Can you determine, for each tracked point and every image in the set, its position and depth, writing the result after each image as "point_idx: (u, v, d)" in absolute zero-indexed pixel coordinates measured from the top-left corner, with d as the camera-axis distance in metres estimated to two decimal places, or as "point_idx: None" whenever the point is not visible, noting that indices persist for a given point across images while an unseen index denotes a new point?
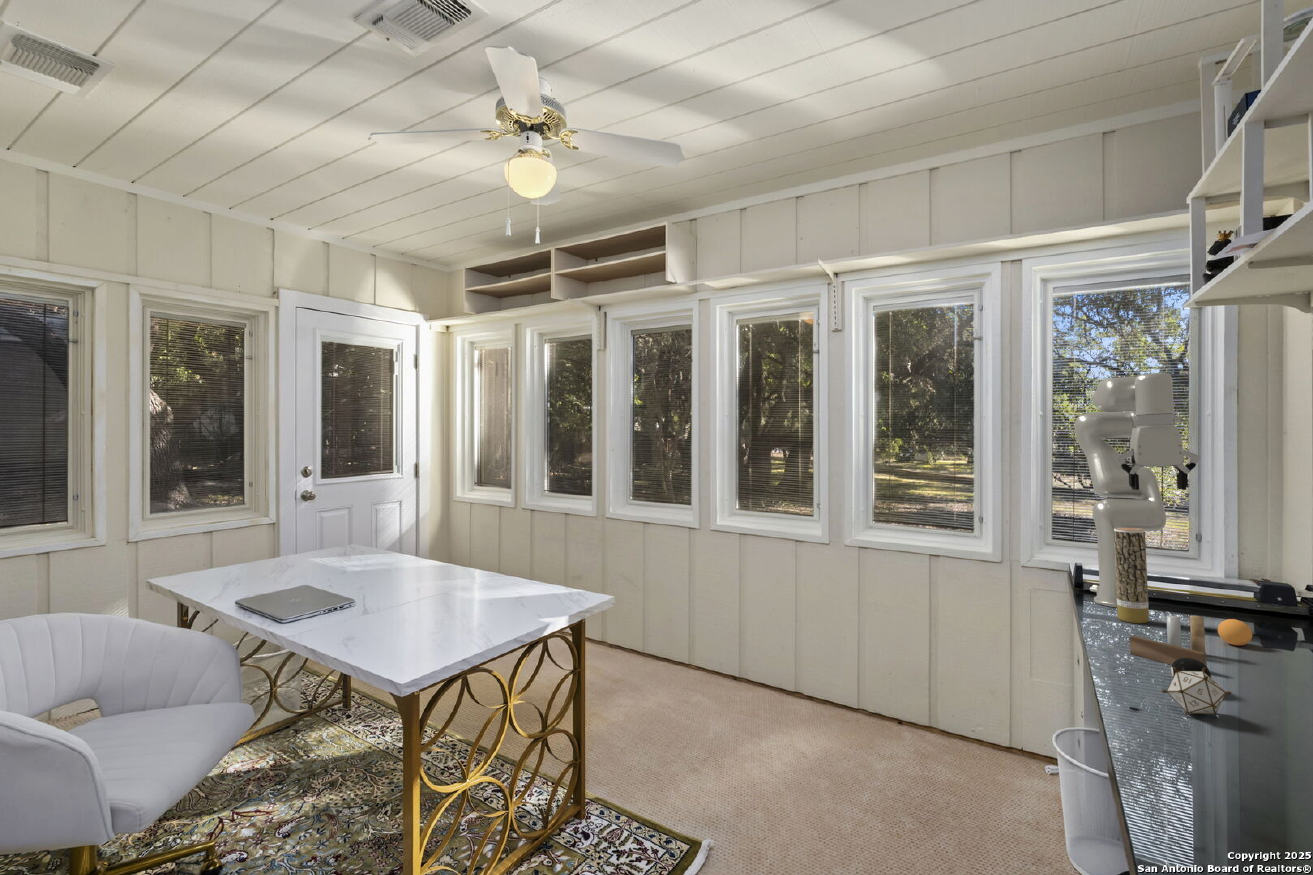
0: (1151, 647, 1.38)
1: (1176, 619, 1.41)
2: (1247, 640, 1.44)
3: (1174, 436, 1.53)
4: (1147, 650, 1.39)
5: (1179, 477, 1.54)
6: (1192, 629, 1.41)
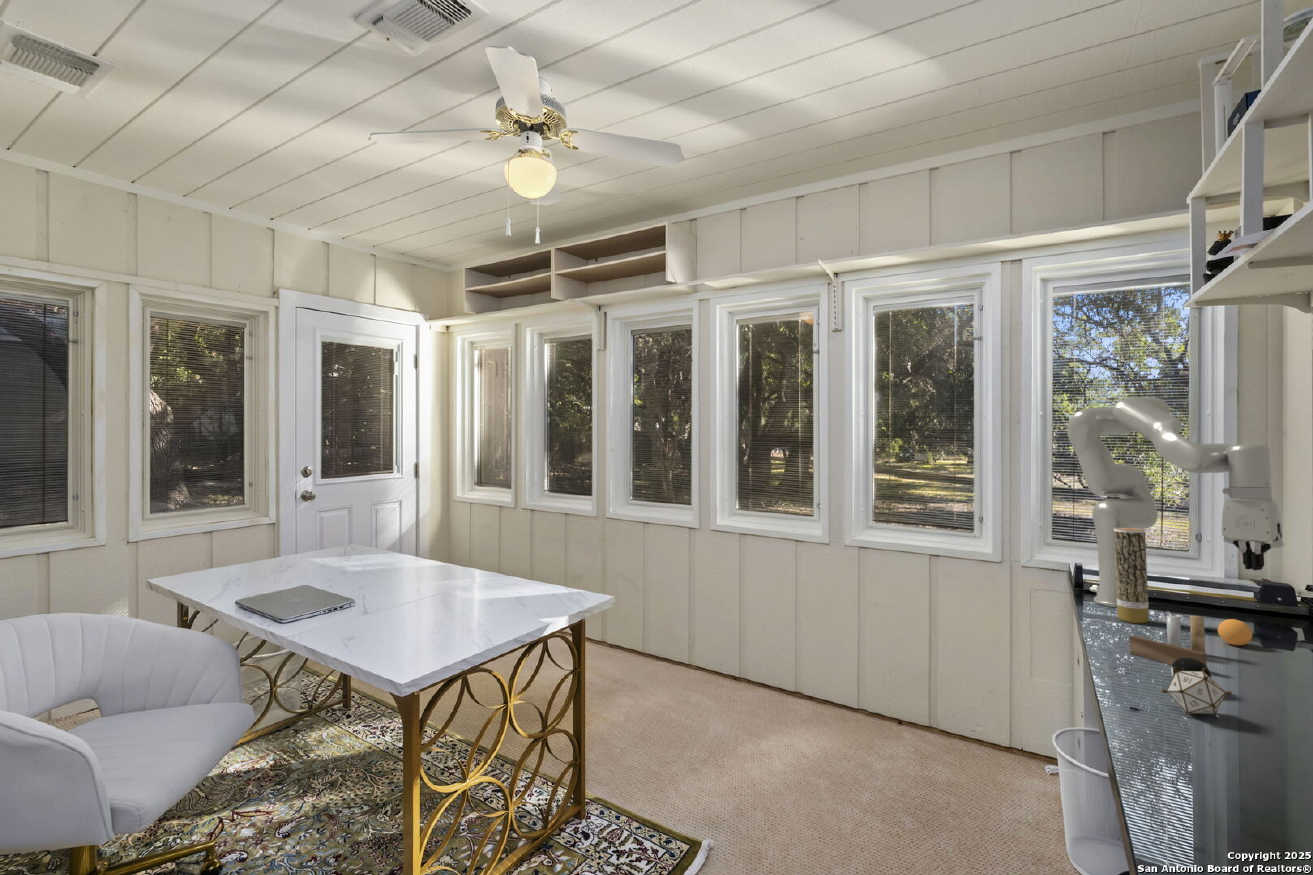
0: (1151, 647, 1.38)
1: (1176, 619, 1.41)
2: (1247, 640, 1.44)
3: None
4: (1147, 650, 1.39)
5: None
6: (1192, 629, 1.41)
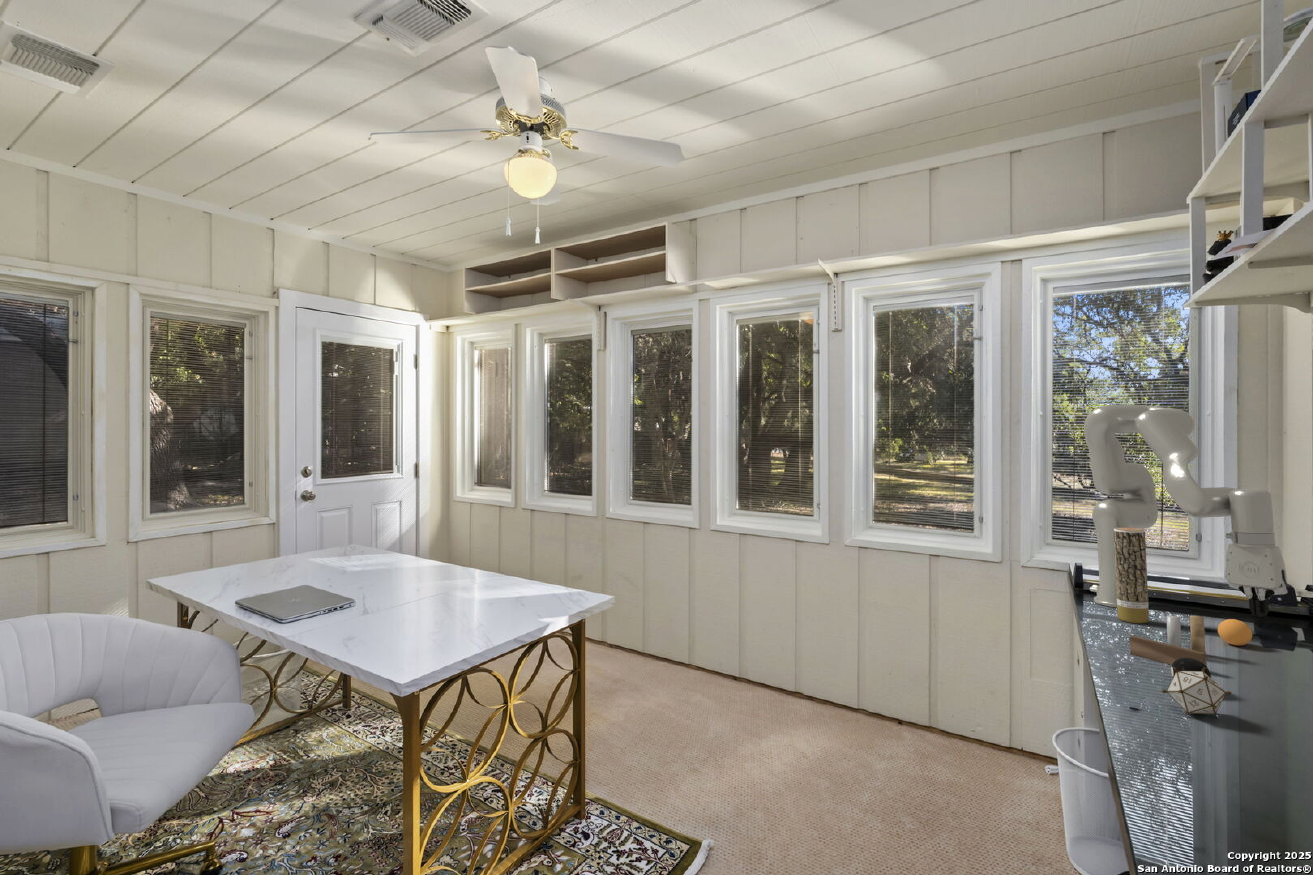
0: (1151, 647, 1.38)
1: (1176, 619, 1.41)
2: (1247, 640, 1.44)
3: None
4: (1147, 650, 1.39)
5: None
6: (1192, 629, 1.41)
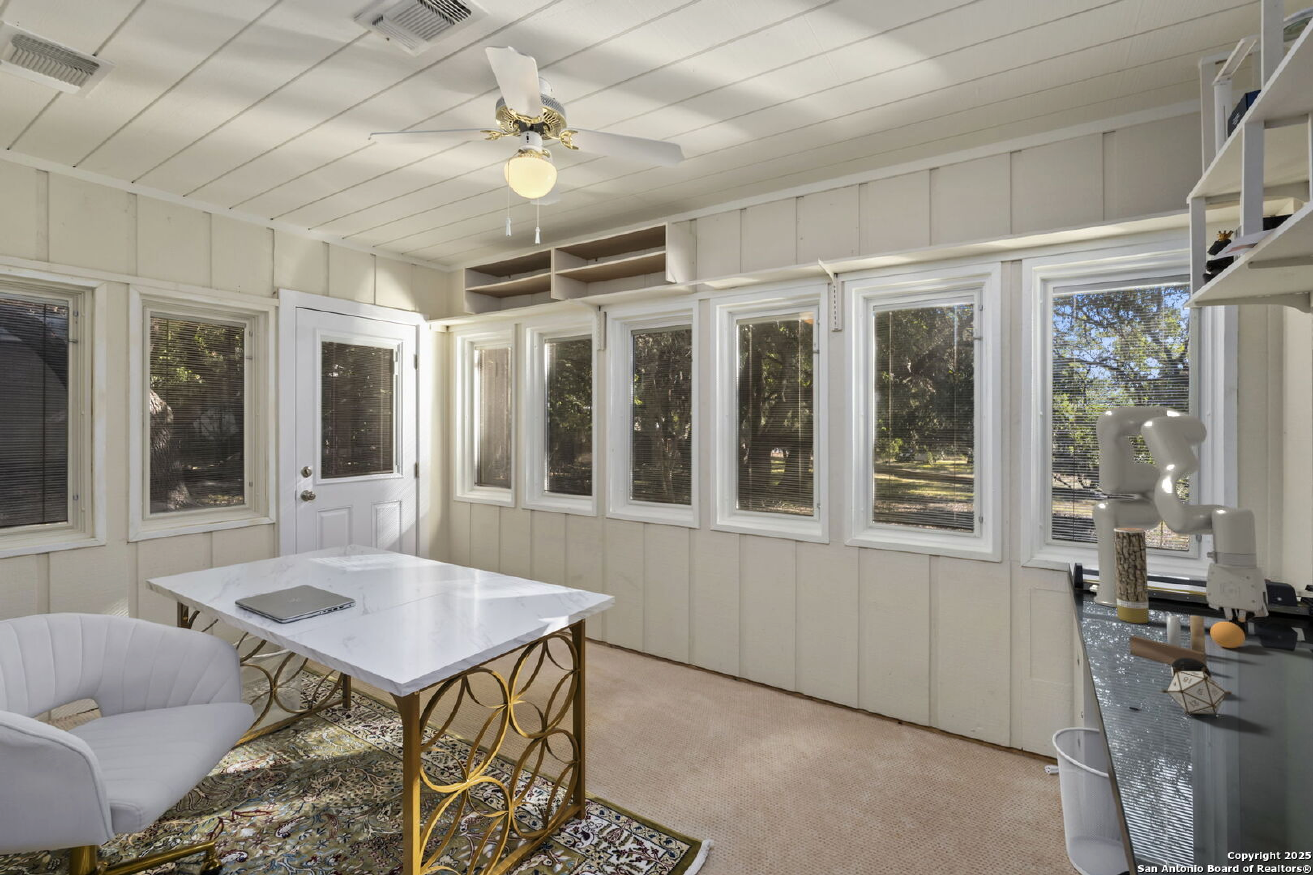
0: (1151, 647, 1.38)
1: (1176, 619, 1.41)
2: (1242, 643, 1.43)
3: None
4: (1147, 650, 1.39)
5: None
6: (1192, 629, 1.41)
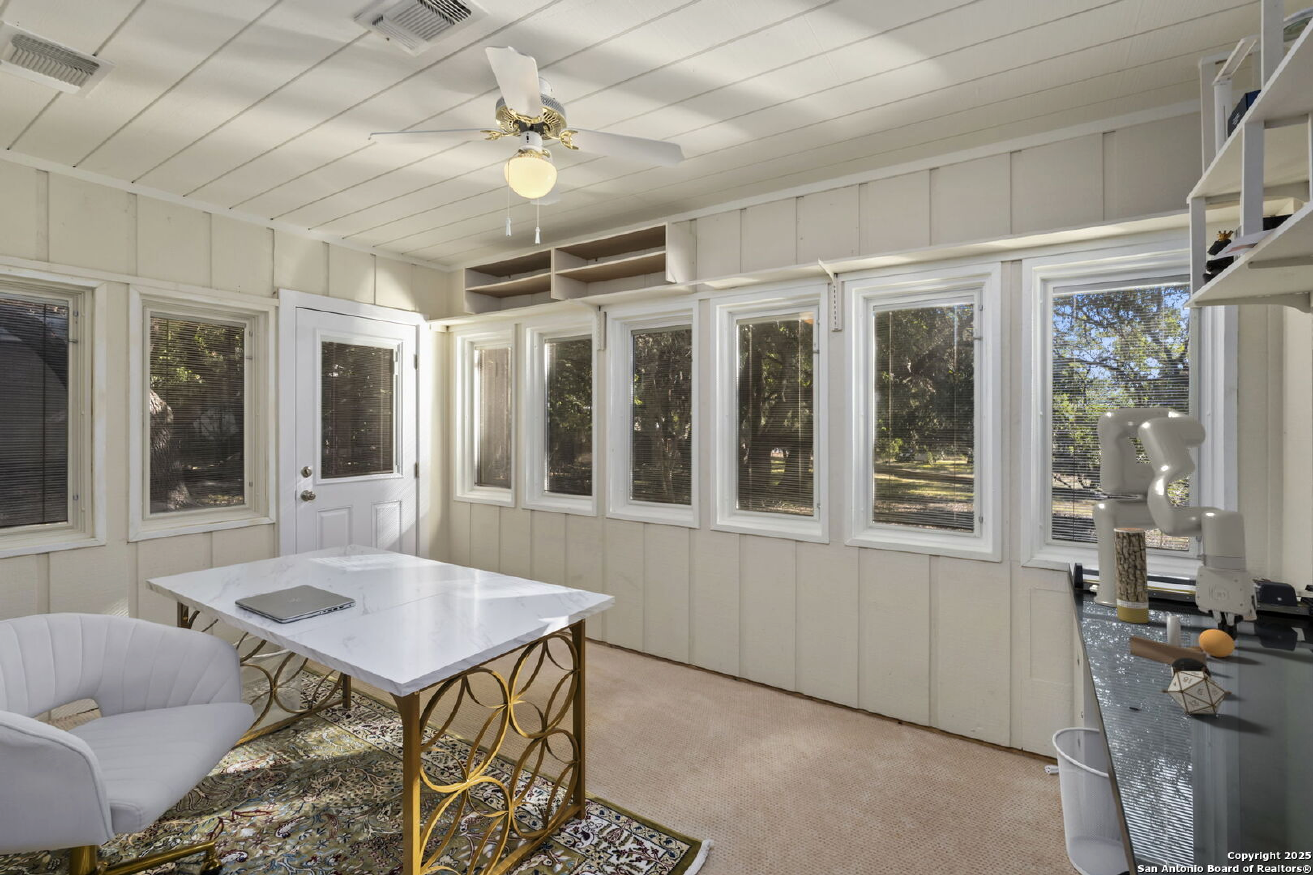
0: (1151, 647, 1.38)
1: (1176, 619, 1.41)
2: (1233, 645, 1.37)
3: None
4: (1147, 650, 1.39)
5: None
6: None
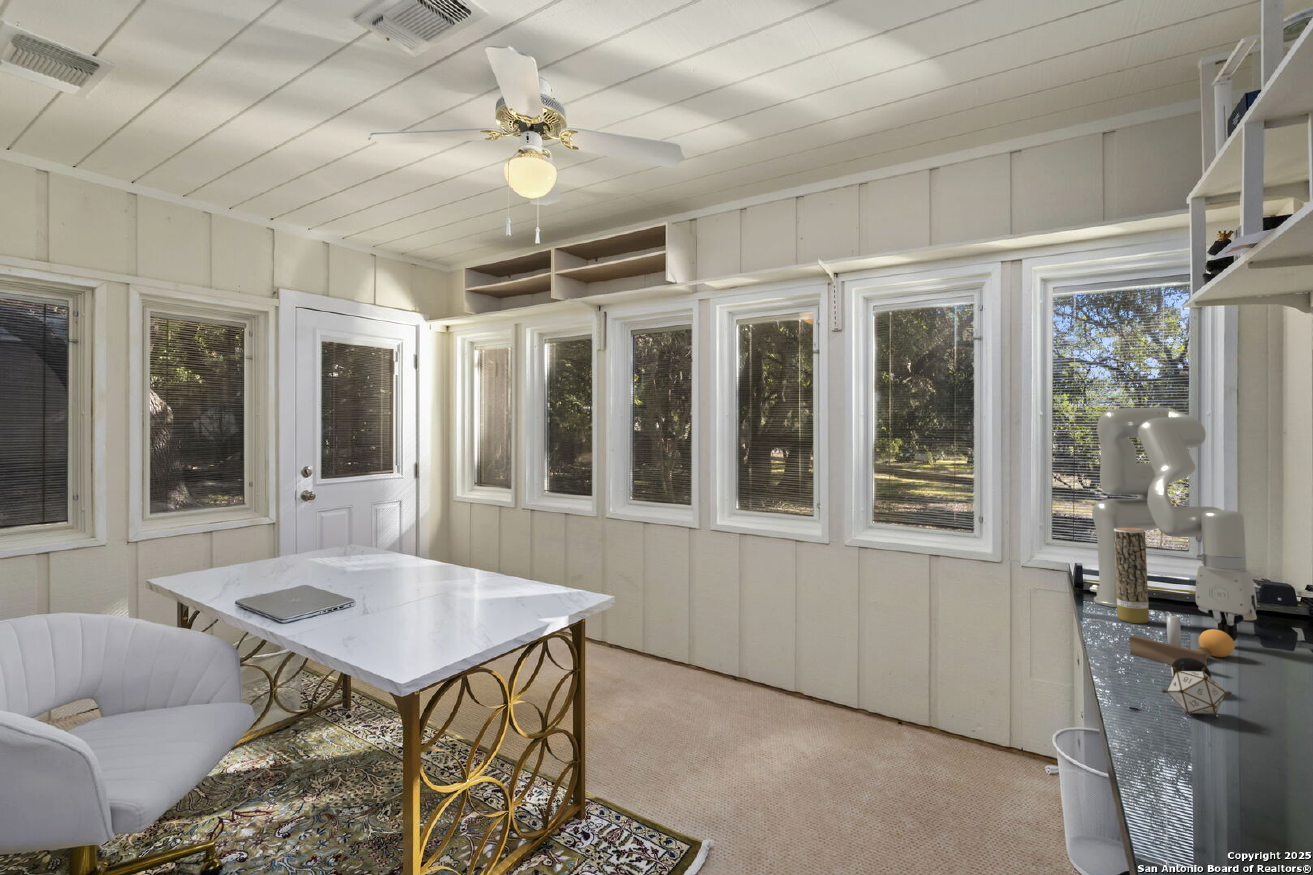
0: (1151, 647, 1.38)
1: (1176, 619, 1.41)
2: (1233, 646, 1.37)
3: None
4: (1147, 650, 1.39)
5: None
6: None
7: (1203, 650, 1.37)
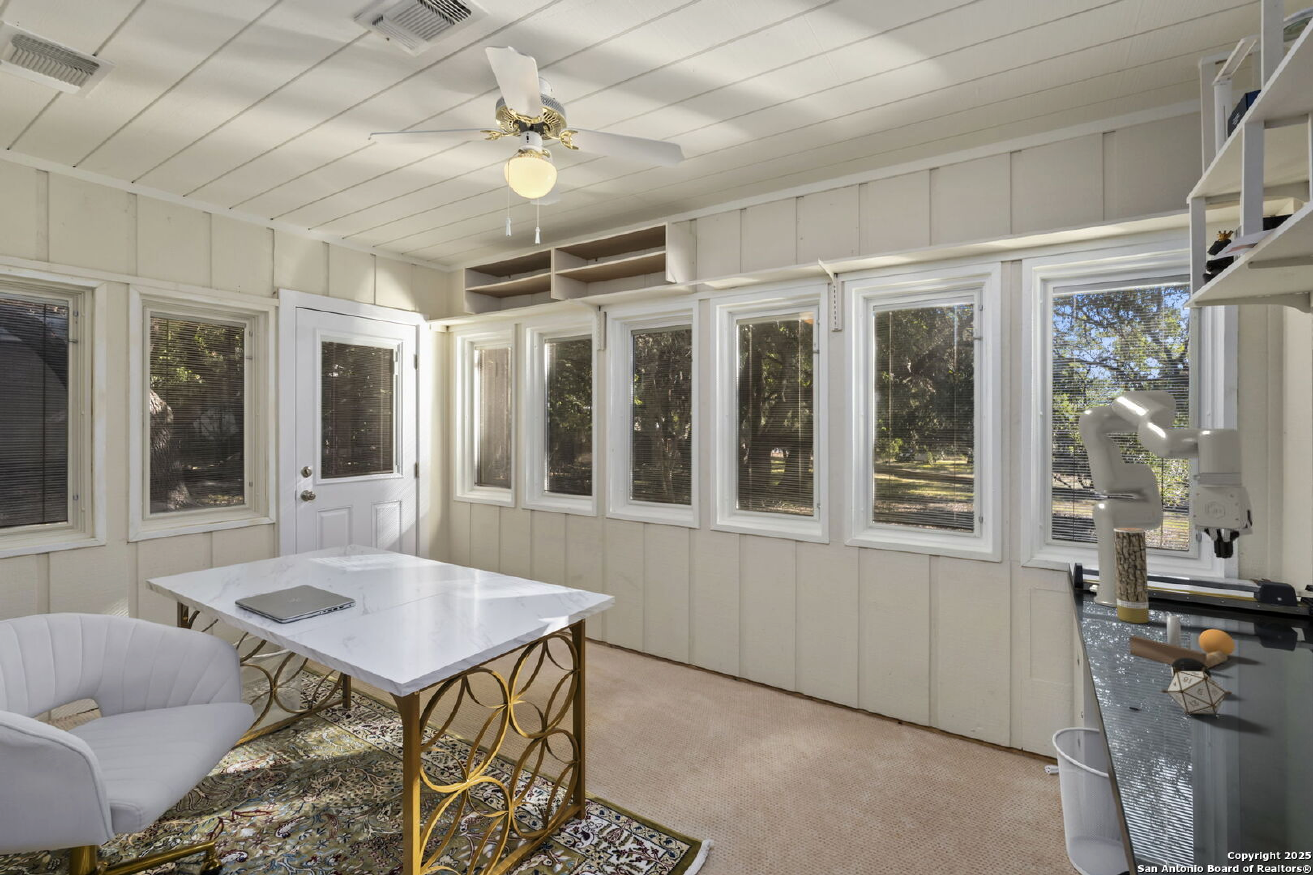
0: (1151, 647, 1.38)
1: (1176, 619, 1.41)
2: (1233, 646, 1.37)
3: None
4: (1147, 650, 1.39)
5: None
6: (1214, 660, 1.33)
7: None
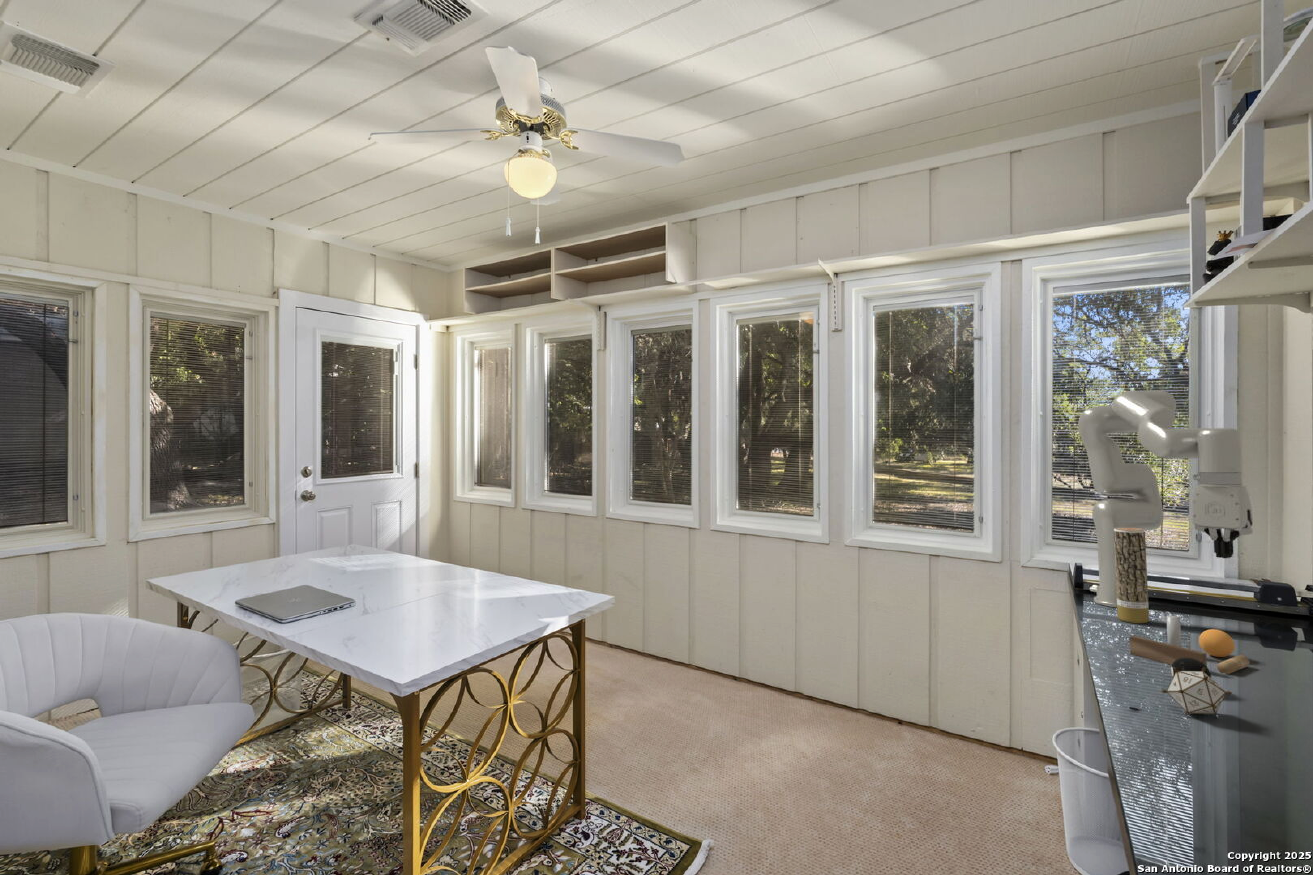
0: (1151, 647, 1.38)
1: (1176, 619, 1.41)
2: (1233, 646, 1.37)
3: None
4: (1147, 650, 1.39)
5: None
6: None
7: (1237, 657, 1.32)
